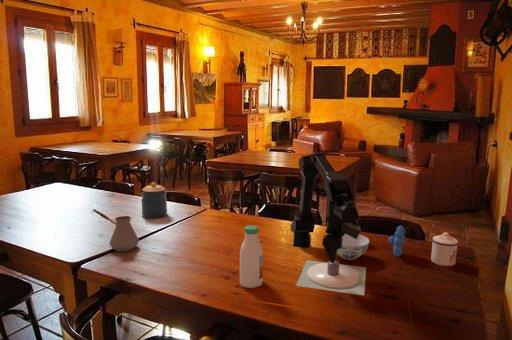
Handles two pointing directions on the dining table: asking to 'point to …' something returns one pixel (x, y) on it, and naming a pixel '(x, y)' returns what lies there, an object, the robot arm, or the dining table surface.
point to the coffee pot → (122, 233)
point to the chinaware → (353, 247)
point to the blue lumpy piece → (398, 240)
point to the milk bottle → (251, 259)
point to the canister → (154, 201)
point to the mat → (355, 289)
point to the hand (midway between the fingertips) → (333, 257)
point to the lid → (333, 275)
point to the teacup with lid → (444, 250)
